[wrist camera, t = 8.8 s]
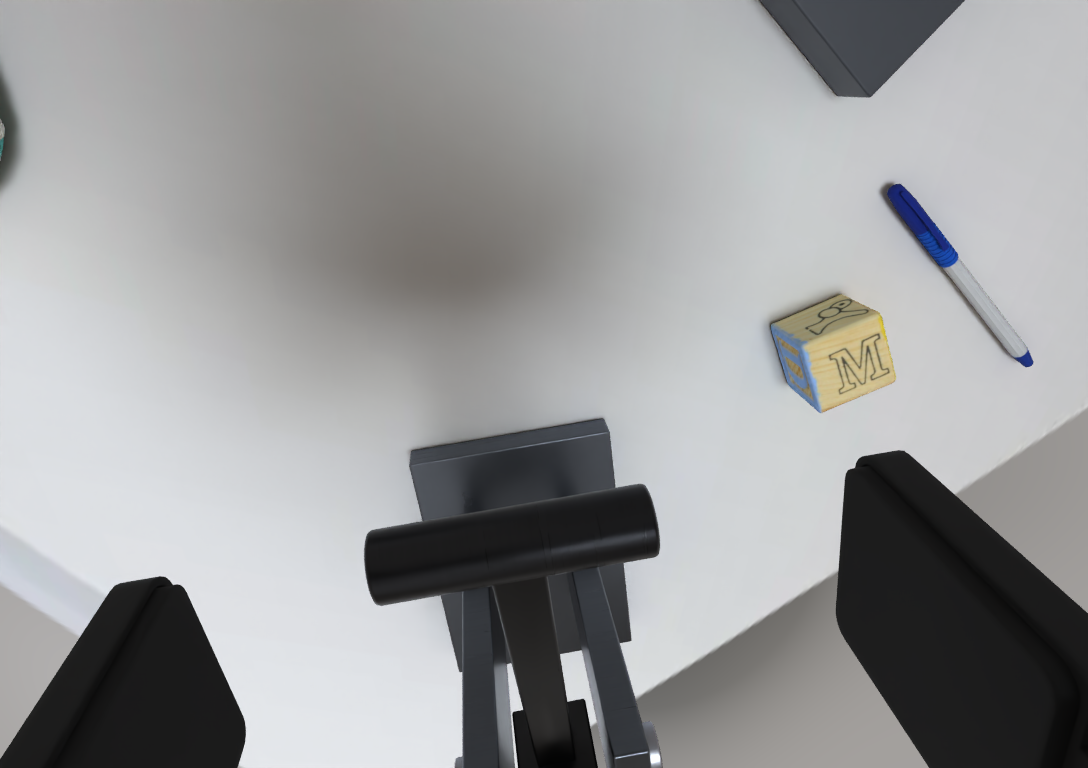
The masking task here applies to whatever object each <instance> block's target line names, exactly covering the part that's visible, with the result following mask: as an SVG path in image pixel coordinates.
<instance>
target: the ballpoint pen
mask: <svg viewBox="0 0 1088 768" xmlns="http://www.w3.org/2000/svg"><path fill="white" fill-rule="evenodd" d="M887 195H888V197H889V199H890V201H891V202H892V204H893V206H894V207H895V209H896V210H897V212H898V213H899V215H900V216H901V217H902V218H903V220H904V221H905V222H906V223H907V225H908V226H909V227H910V229H911V230H912V231H913V232H914V234H915V235H916V237H917V238H918V239H919V241H920V242H921V243H922V244H923V245H924V247H925V248H926V249H927V251H928V252H929V253H930V255H931V256H932V257H933V258H934V259H935V261H936V262H937V263H938V265H939V266H941V267H943V269H944V270H945V271H946V273H947V274H948V275H949V276H950V278H951V279H952V280H953V282H954V283H955V284H956V285H957V287H958V288H959V289H960V290H961V292H962V293H963V294H964V296H965V297H966V298H967V299H968V301H969V302H970V303H971V305H972V306H973V307H974V308H975V310H976V311H977V312H978V314H979V315H980V316H981V317H982V319H983V320H984V321H985V323H986V324H987V325H988V326H989V328H990V329H991V330H992V331H993V333H994V334H995V335H996V337H997V338H998V339H999V340H1000V342H1001V343H1002V344H1003V346H1004V347H1005V348H1006V349H1007V351H1008V352H1009V353H1010V355H1011V356H1012V357H1013V358H1015V359H1016V360H1017V361H1018V362H1020V363H1021V364H1022V365H1023V366H1025V367H1030V366H1032V364H1033V360H1032V358H1031V355H1030V353H1029V350H1028V348H1027V347H1026V345H1025V344H1024V343H1023V341H1022V340H1021V339H1020V337H1019V336H1018V335H1017V333H1016V332H1015V331H1014V329H1013V328H1012V327H1011V326H1010V324H1009V323H1008V322H1007V320H1006V319H1005V318H1004V316H1003V315H1002V314H1001V312H1000V311H999V310H998V308H997V307H996V306H995V305H994V303H993V302H992V301H991V299H990V298H989V297H988V295H987V294H986V293H985V291H984V290H983V289H982V288H981V286H980V285H979V284H978V282H977V281H976V280H975V278H974V277H973V276H972V274H971V273H970V272H969V270H968V269H967V268H966V267H965V265H964V264H963V263H962V261H961V260H960V259H959V257H958V253H957V252H956V251H955V249H954V248H953V247H952V245H951V244H950V243H949V242H948V241H947V239H946V238H945V237H944V235H943V234H942V232H941V231H940V230H939V228H938V227H937V226H936V224H935V223H933V221H932V220H931V219H930V217H929V216H928V215H927V213H926V212H925V211H924V209H923V208H922V207H921V205H920V204H919V203H918V202H917V200H916V199H915V198H914V197H913V196H912V195H911V194H910V193H909V192H908V191H907V190H906V189H905V188H904V187H903V186H902V185H901V184H895V185H893V186H891V187H890V188H889V189H888V192H887Z"/></svg>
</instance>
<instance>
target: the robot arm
mask: <svg viewBox="0 0 1088 768" xmlns="http://www.w3.org/2000/svg"><path fill="white" fill-rule="evenodd" d="M837 587H838V588H837V601H836V617H837V622H838V625H839V628H840V631H841V633H842V635H843V637H844V639H845V640H846V642H847V643H848V645H849V646H850V648H851V649H852V651H853V652H854V654H855V655H856V657H857V659H858V660H859V662H860V663H861V665H862V666H863V668H864V669H865V671H866V672H867V674H868V675H869V677H870V678H871V680H872V681H873V683H874V684H875V686H876V687H877V689H878V691H879V692H880V694H881V695H882V697H883V698H884V699H885V701H886V703H887V704H888V706H889V707H890V709H891V710H892V712H893V713H894V715H895V716H896V718H897V719H898V721H899V722H900V724H901V726H902V727H903V729H904V730H905V732H906V733H907V735H908V736H909V737H910V739H911V740H912V742H913V744H914V745H915V747H916V748H917V750H918V751H919V753H920V754H921V756H922V757H923V759H924V761H925V762H926V763H927V765H928V767H929V768H1088V613H1087V612H1086V611H1084V610H1083V609H1082V608H1081V607H1080V606H1079V605H1078V604H1077V603H1075V602H1074V601H1073V600H1072V599H1071V598H1070V597H1069V596H1067V595H1066V594H1065V593H1064V592H1063V591H1062V590H1061V589H1060V588H1059V587H1058V586H1056V585H1055V584H1054V583H1053V582H1052V581H1051V580H1050V579H1049V578H1047V577H1046V576H1045V575H1044V574H1043V573H1042V572H1041V571H1040V570H1038V569H1037V568H1036V567H1035V566H1034V565H1033V564H1032V563H1031V562H1029V561H1028V560H1027V559H1026V558H1025V557H1024V556H1023V555H1022V554H1020V553H1019V552H1018V551H1017V550H1016V549H1015V548H1014V547H1013V546H1011V545H1010V544H1009V543H1008V542H1007V541H1006V540H1005V539H1004V538H1003V537H1001V536H1000V535H999V534H998V533H997V532H996V531H995V530H993V529H992V528H991V527H990V526H989V525H988V524H987V523H986V522H984V521H983V520H982V519H981V518H980V517H979V516H978V515H977V514H975V513H974V512H973V511H972V510H971V509H970V508H969V507H968V506H967V505H965V504H964V503H963V502H962V501H961V500H960V499H959V498H958V497H957V496H955V495H954V494H953V493H952V492H951V491H950V490H949V489H948V488H946V487H945V486H944V485H943V484H942V483H941V482H940V481H939V480H937V479H936V478H935V477H934V476H933V475H932V474H931V473H930V472H928V471H927V470H926V469H925V468H924V467H923V466H922V465H921V464H919V463H918V462H917V461H916V460H915V459H914V458H913V457H912V456H910V455H909V454H908V453H906V452H905V451H900V450H898V451H892V452H886V453H880V454H874V455H868V456H863V457H861V458H859V459H858V461H857V463H856V466H855V468H853V469H850V470H848V471H847V473H846V476H845V486H844V501H843V515H842V529H841V543H840V557H839V572H838V586H837ZM245 737H246V727H245V721H244V718H243V715H242V713H241V711H240V709H239V706H238V704H237V702H236V700H235V698H234V695H233V693H232V691H231V689H230V687H229V684H228V682H227V680H226V678H225V676H224V673H223V671H222V669H221V667H220V665H219V662H218V660H217V658H216V656H215V654H214V652H213V649H212V647H211V645H210V643H209V641H208V638H207V636H206V634H205V632H204V630H203V627H202V625H201V623H200V621H199V619H198V616H197V614H196V612H195V610H194V608H193V605H192V603H191V601H190V599H189V597H188V595H187V592H186V591H185V589H184V588H183V587H182V586H181V585H172V583H171V582H170V580H168V579H167V578H166V577H161V576H160V577H154V578H148V579H142V580H136V581H131V582H125V583H120V584H118V585H116V586H114V587H113V589H112V590H111V591H110V592H109V594H108V595H107V597H106V598H105V600H104V601H103V603H102V604H101V606H100V607H99V609H98V611H97V612H96V614H95V615H94V617H93V618H92V620H91V621H90V623H89V624H88V626H87V627H86V629H85V630H84V632H83V633H82V635H81V637H80V638H79V640H78V641H77V643H76V644H75V646H74V647H73V649H72V651H71V652H70V654H69V655H68V656H67V658H66V660H65V661H64V663H63V664H62V666H61V667H60V669H59V670H58V672H57V673H56V675H55V676H54V678H53V680H52V681H51V682H50V684H49V686H48V687H47V689H46V690H45V692H44V693H43V695H42V696H41V698H40V700H39V701H38V702H37V704H36V705H35V707H34V709H33V710H32V712H31V713H30V715H29V716H28V718H27V719H26V721H25V722H24V724H23V725H22V727H21V728H20V730H19V732H18V733H17V735H16V736H15V738H14V739H13V741H12V742H11V744H10V745H9V747H8V748H7V750H6V751H5V753H4V754H3V756H2V757H1V759H0V768H237V767H238V764H239V761H240V758H241V755H242V751H243V748H244V744H245Z"/></svg>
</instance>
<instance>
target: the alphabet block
mask: <svg viewBox="0 0 1088 768" xmlns="http://www.w3.org/2000/svg"><path fill="white" fill-rule="evenodd" d="M771 331H772V334H773V337H774V340H775V343H776V347H777V350H778V353H779V357H780V360H781V363H782V366H783V369H784V373H785V376H786V379H787V383H788V385H789V386H790V387H791V388H792V389H793V390H794V391H795V392H796V393H798V394H799V395H800V396H801V397H802V398H803V399H805V400H806V401H807V402H808V403H809V404H810V405H811V406H813V407H814V408H815V409H816V410H817V411H818V412H819V413H822V412H825V411H827V410H829V409H832V408H834V407H836V406H839V405H841V404H843V403H846V402H848V401H851V400H853V399H856V398H858V397H860V396H863V395H865V394H868V393H870V392H873V391H875V390H877V389H879V388H882V387H885V386H887V385H889V384H892V383H893V382H895V380H896V375H895V371H894V367H893V362H892V358H891V354H890V351H889V346H888V343H887V337H886V334H885V329H884V326H883V320H882V317H881V315H880V313H878V312H877V311H875V310H873V309H870V308H869V307H866V306H864V305H862V304H860V303H858V302H856V301H854V300H852V299H850V298H848V297H846V296H844V295H842V294H841V295H838V296H836V297H834V298H832V299H829V300H827V301H825V302H822V303H820V304H818V305H815V306H813V307H811V308H808V309H806V310H804V311H802V312H799V313H797V314H795V315H792V316H790V317H788V318H785V319H783V320H781V321H779V322H776V323H773V324H772V325H771Z"/></svg>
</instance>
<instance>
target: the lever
mask: <svg viewBox="0 0 1088 768" xmlns="http://www.w3.org/2000/svg"><path fill="white" fill-rule="evenodd" d="M659 549H660V536H659V528H658V522H657V517H656V513H655V509H654V505H653V501H652V498H651V496H650V493H649V491H648V489H647V488H646V486H645V485H643V484H635V485H630V486H624V487H618V488H612V489H607V490H601V491H595V492H589V493H583V494H578V495H572V496H566V497H560V498H554V499H549V500H543V501H537V502H531V503H526V504H520V505H514V506H508V507H502V508H497V509H491V510H485V511H479V512H473V513H468V514H462V515H456V516H450V517H444V518H439V519H433V520H427V521H421V522H416V523H410V524H404V525H398V526H392V527H387V528H381V529H375V530H372V531H370V532H369V533H368V534H367V536H366V541H365V548H364V563H365V573H366V579H367V584H368V588H369V591H370V594H371V597H372V599H373V601H374V602H375V604H376V605H380V606H383V605H389V604H394V603H400V602H406V601H411V600H417V599H422V598H428V597H434V596H439V595H445V594H451V593H456V592H462V591H467V590H473V589H479V588H484V587H490V586H492V587H493V591H494V595H495V599H496V603H497V607H498V611H499V615H500V619H501V623H502V627H503V631H504V635H505V639H506V643H507V647H508V651H509V655H510V658H511V662H512V666H513V670H514V674H515V678H516V682H517V686H518V690H519V694H520V698H521V702H522V706H523V710H521V711H516V712H513V714H512V716H513V725H514V734H515V744H516V753H517V762H518V768H598V766H597V761H596V755H595V750H594V745H593V739H592V734H591V729H590V723H589V718H588V713H587V708H586V702H585V700H584V699H580V700H575V701H569V702H567V697H566V691H565V684H564V678H563V672H562V665H561V659H560V653H559V646H558V640H557V634H556V627H555V621H554V615H553V608H552V602H551V596H550V589H549V583H548V577H547V576H552V575H557V574H563V573H569V572H574V571H580V570H585V569H591V568H597V567H602V566H608V565H614V564H619V563H625V562H630V561H636V560H642V559H647V558H653V557H656V556H657V555H658V554H659Z"/></svg>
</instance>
